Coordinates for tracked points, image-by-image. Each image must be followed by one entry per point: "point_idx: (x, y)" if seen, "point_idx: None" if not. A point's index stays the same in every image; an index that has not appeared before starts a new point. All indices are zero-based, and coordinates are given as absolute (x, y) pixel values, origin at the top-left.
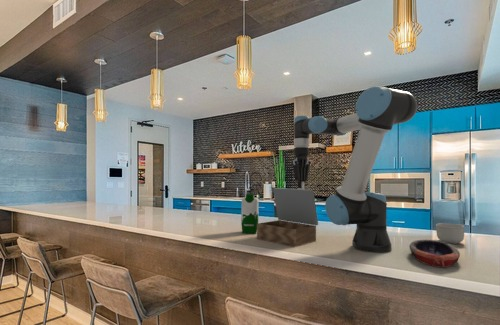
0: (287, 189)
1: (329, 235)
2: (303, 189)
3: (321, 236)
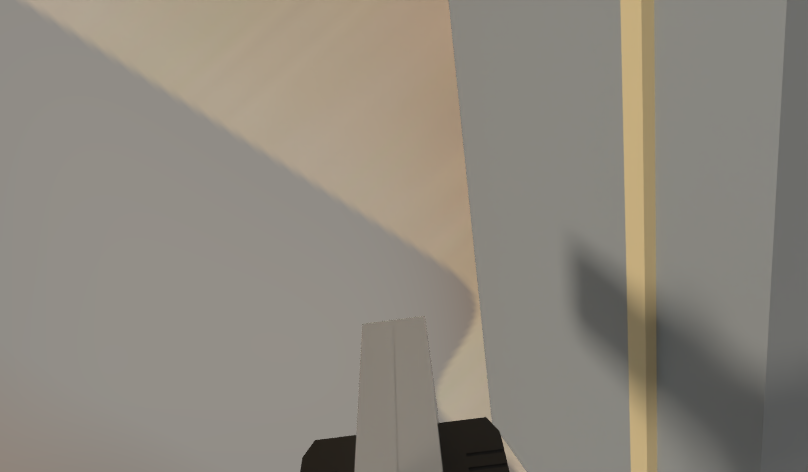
0: (803, 468)
1: (99, 3)
2: (797, 68)
3: (218, 19)
